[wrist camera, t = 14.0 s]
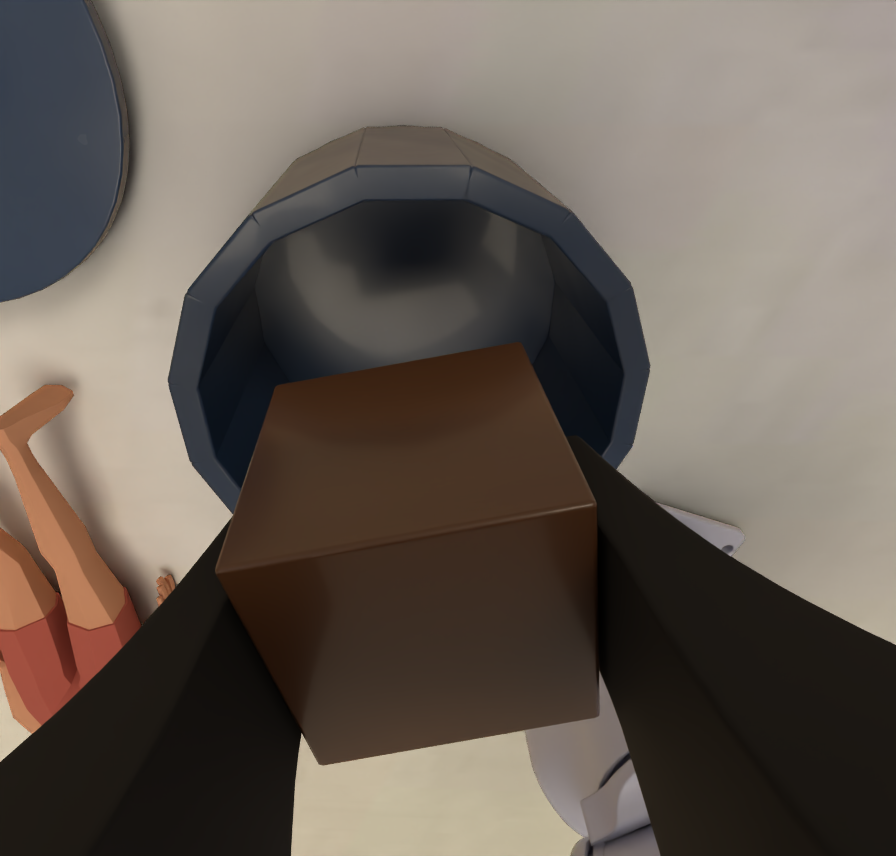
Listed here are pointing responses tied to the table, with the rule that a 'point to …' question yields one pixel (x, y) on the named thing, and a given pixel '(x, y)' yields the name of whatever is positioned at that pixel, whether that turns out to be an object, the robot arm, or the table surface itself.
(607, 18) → the table surface
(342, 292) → the cup
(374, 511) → the block
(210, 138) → the table surface
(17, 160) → the lid
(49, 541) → the character figure
